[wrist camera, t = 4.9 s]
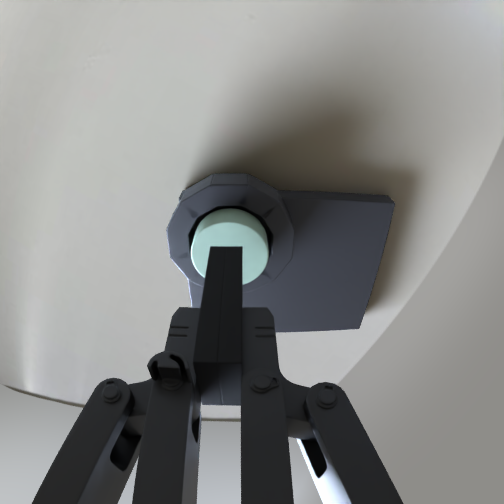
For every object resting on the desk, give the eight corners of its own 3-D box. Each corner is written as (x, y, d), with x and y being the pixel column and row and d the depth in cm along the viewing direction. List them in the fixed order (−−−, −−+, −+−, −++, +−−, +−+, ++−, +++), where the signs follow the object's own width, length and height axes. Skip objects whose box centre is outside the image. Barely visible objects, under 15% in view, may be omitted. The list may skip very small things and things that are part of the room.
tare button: (268, 207, 16) (270, 221, 15) (265, 270, 18) (267, 286, 17) (192, 207, 16) (187, 221, 15) (197, 269, 18) (194, 286, 17)
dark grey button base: (392, 174, 18) (413, 193, 15) (355, 318, 25) (365, 345, 22) (173, 167, 17) (160, 185, 15) (191, 321, 24) (186, 349, 22)
